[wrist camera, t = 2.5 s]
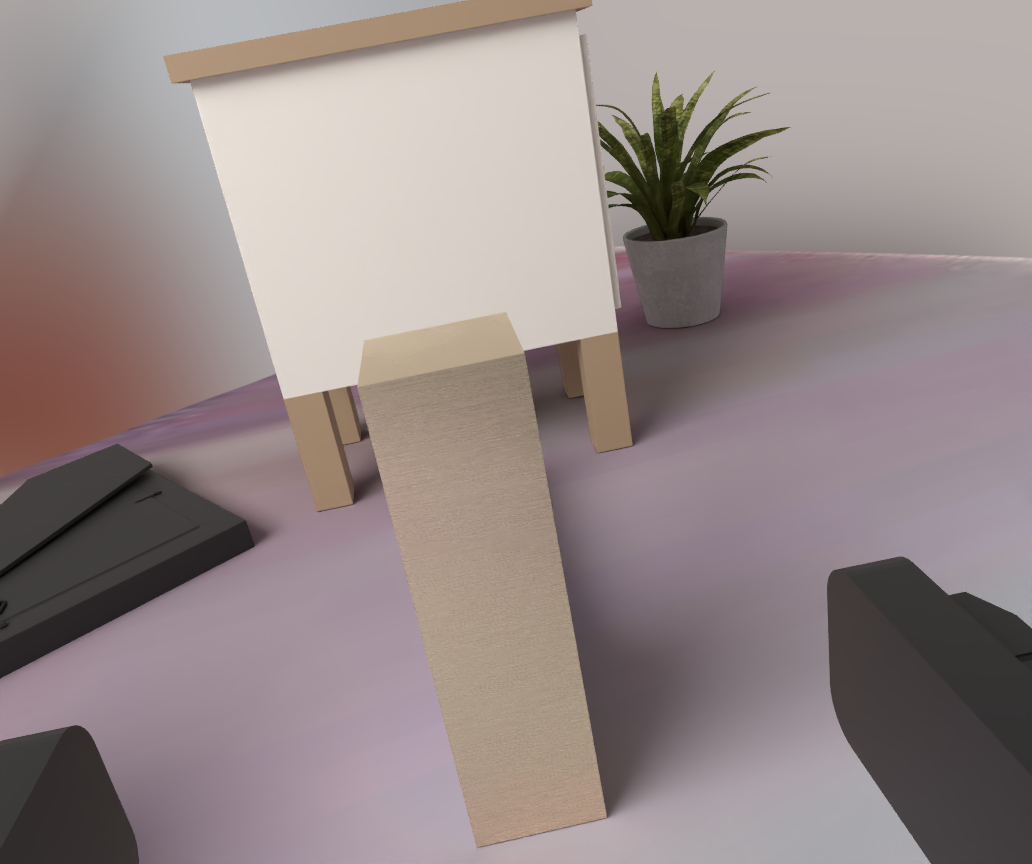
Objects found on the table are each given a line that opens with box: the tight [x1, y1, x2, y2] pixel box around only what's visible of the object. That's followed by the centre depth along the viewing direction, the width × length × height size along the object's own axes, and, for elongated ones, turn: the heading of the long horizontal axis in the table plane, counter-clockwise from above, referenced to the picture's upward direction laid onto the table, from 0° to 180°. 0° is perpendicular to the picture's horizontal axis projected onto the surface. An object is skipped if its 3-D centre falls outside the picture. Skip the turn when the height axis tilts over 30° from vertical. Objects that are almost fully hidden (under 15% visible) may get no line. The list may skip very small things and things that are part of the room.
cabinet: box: [164, 0, 633, 511], centre depth 44 cm, size 18×11×21 cm, turn 97°
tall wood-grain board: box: [357, 312, 607, 847], centre depth 30 cm, size 4×20×13 cm, turn 7°
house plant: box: [596, 73, 789, 328], centre depth 58 cm, size 14×14×16 cm
